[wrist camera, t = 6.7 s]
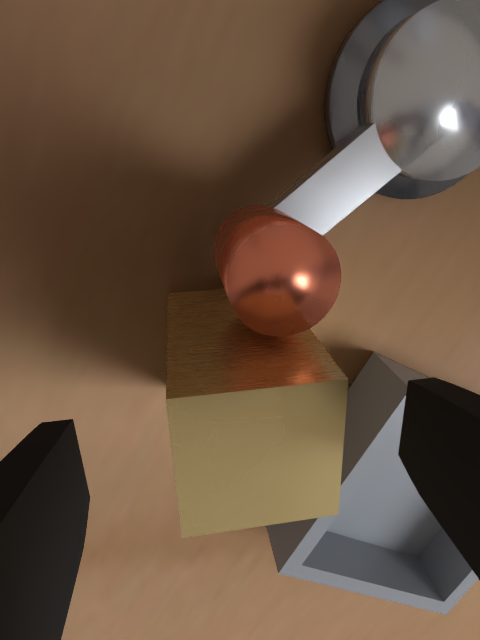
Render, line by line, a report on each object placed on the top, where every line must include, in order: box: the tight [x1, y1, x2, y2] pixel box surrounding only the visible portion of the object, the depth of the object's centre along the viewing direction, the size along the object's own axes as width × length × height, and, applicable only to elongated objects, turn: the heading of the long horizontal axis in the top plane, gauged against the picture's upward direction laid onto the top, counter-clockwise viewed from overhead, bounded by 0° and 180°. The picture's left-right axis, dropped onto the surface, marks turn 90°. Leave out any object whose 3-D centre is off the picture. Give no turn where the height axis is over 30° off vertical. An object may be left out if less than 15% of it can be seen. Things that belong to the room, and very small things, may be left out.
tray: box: [266, 352, 478, 615], centre depth 16 cm, size 8×8×2 cm
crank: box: [213, 0, 480, 337], centre depth 10 cm, size 9×4×4 cm, turn 129°
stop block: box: [166, 289, 348, 538], centre depth 11 cm, size 3×3×6 cm
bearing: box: [324, 0, 467, 199], centre depth 12 cm, size 5×5×1 cm
